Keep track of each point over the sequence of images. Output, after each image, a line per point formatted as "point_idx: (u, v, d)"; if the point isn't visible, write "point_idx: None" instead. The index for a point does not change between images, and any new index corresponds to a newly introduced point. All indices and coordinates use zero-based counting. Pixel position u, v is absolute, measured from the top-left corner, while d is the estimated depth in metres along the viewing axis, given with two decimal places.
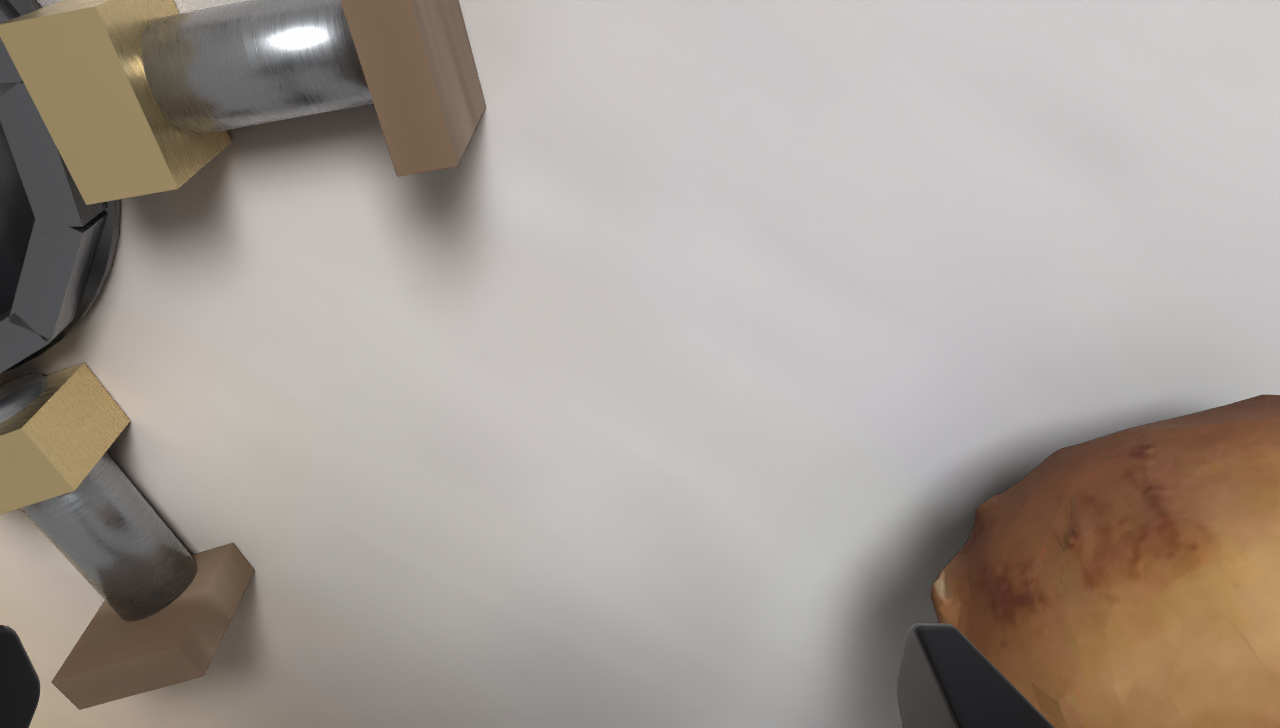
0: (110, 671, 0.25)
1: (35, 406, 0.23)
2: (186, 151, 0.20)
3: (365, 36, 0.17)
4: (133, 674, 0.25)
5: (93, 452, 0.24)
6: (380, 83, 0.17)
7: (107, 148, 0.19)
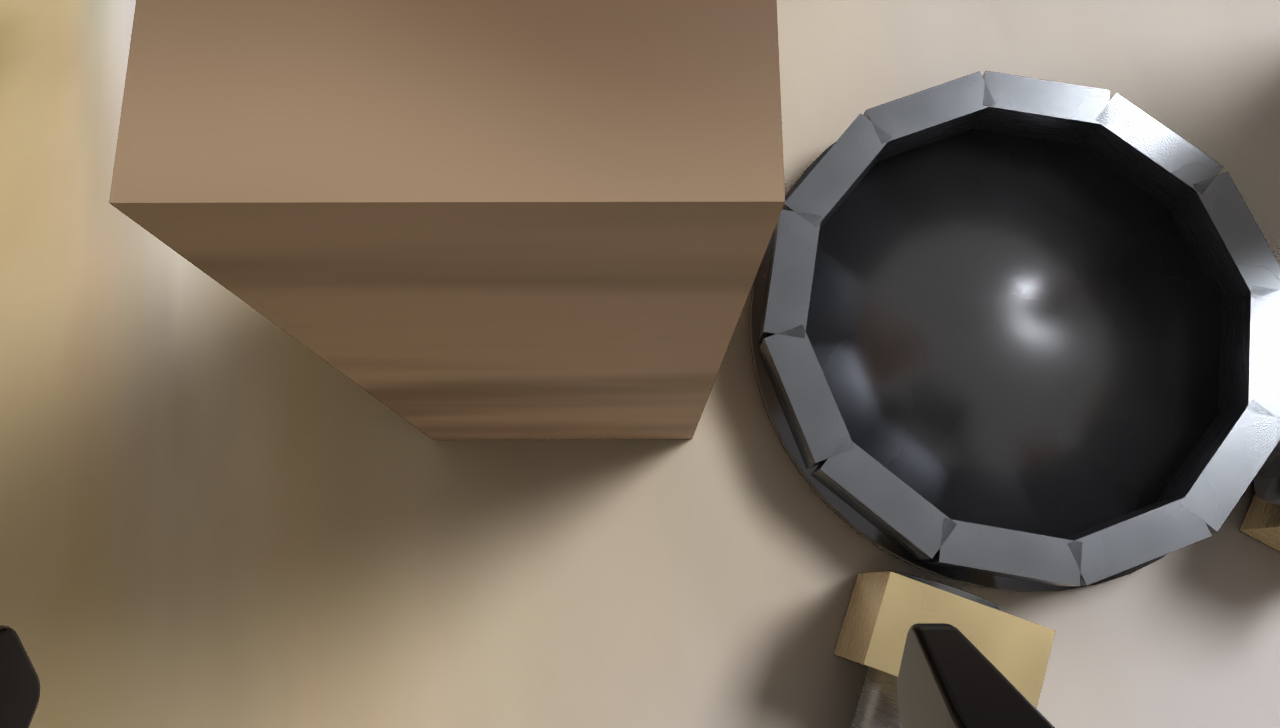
0: None
1: None
2: None
3: None
4: None
5: None
6: None
7: None
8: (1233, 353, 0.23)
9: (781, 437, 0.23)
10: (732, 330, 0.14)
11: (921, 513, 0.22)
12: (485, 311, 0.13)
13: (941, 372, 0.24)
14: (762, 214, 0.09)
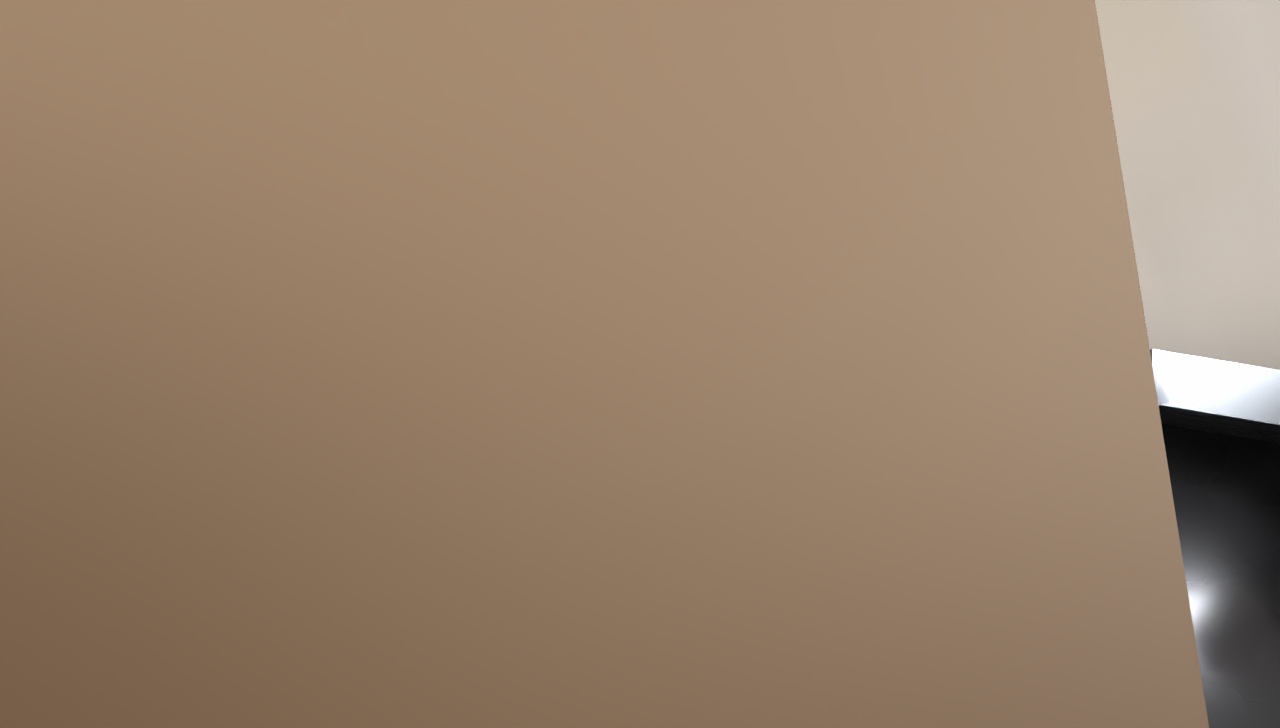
0: None
1: None
2: None
3: None
4: None
5: None
6: None
7: None
8: None
9: None
10: None
11: None
12: None
13: None
14: None
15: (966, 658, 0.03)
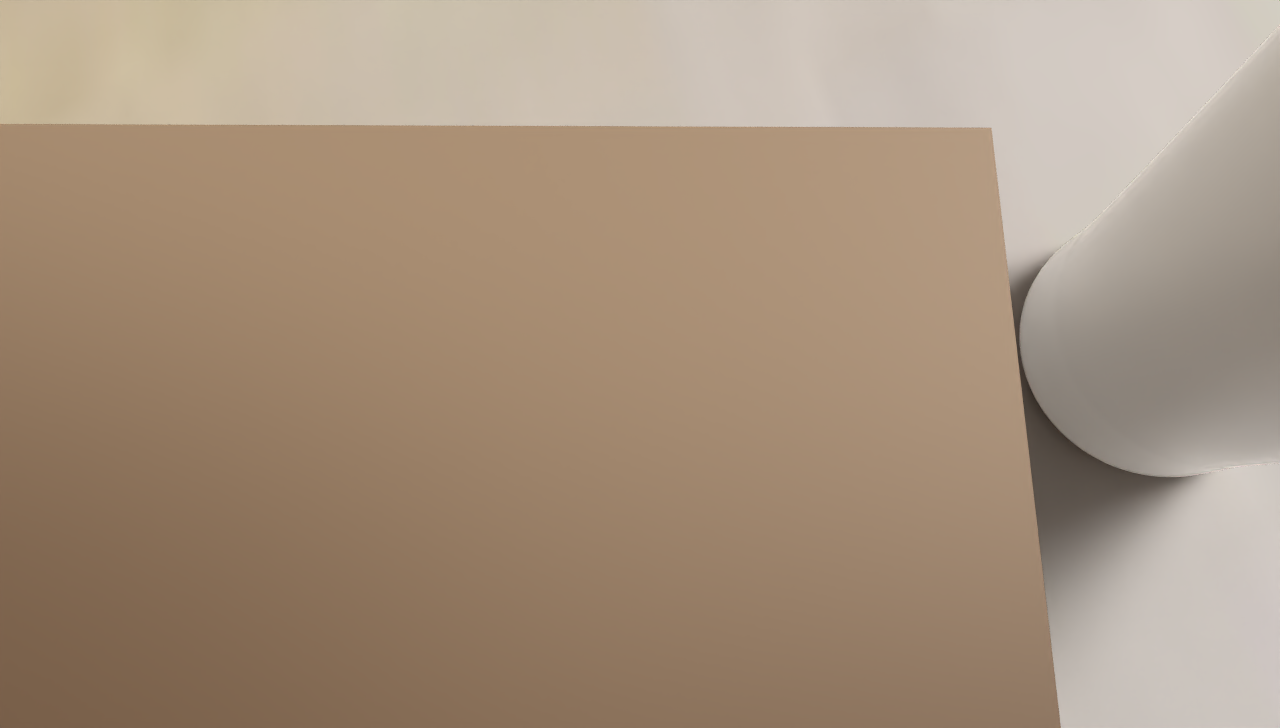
0: None
1: None
2: None
3: None
4: None
5: None
6: None
7: None
8: None
9: None
10: None
11: None
12: None
13: None
14: None
15: (874, 664, 0.03)
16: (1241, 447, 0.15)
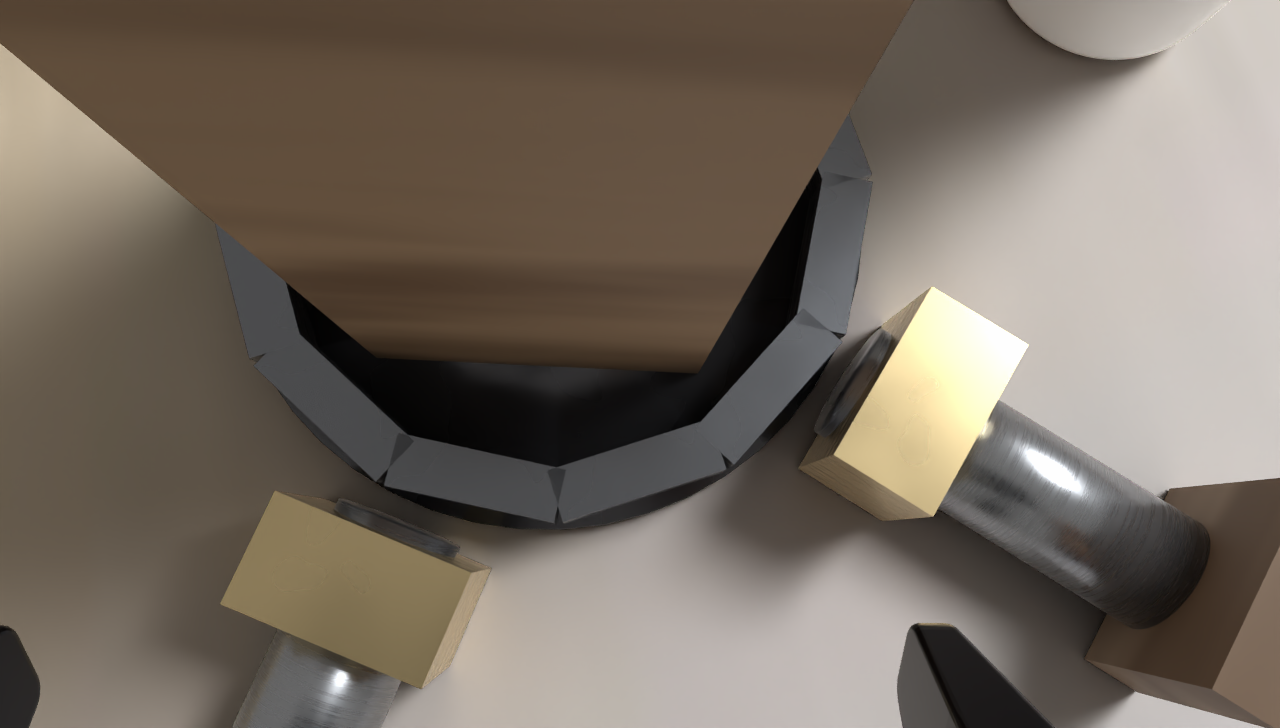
0: None
1: (464, 564, 0.17)
2: None
3: None
4: None
5: (440, 664, 0.17)
6: (1270, 600, 0.15)
7: (911, 434, 0.16)
8: (803, 254, 0.19)
9: None
10: (805, 182, 0.09)
11: (372, 425, 0.17)
12: (428, 115, 0.08)
13: None
14: None
15: None
16: None
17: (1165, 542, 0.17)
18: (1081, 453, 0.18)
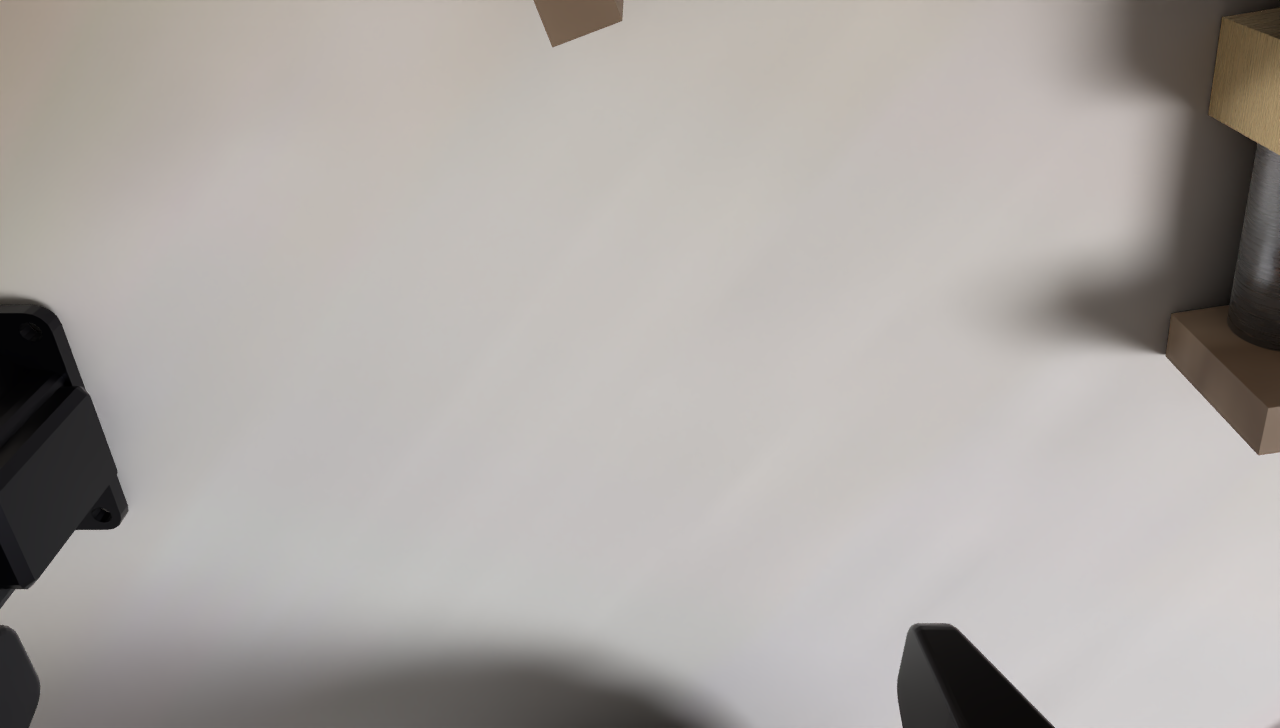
0: None
1: None
2: None
3: None
4: None
5: None
6: None
7: None
8: None
9: None
10: None
11: None
12: None
13: None
14: None
15: None
16: None
17: None
18: None
